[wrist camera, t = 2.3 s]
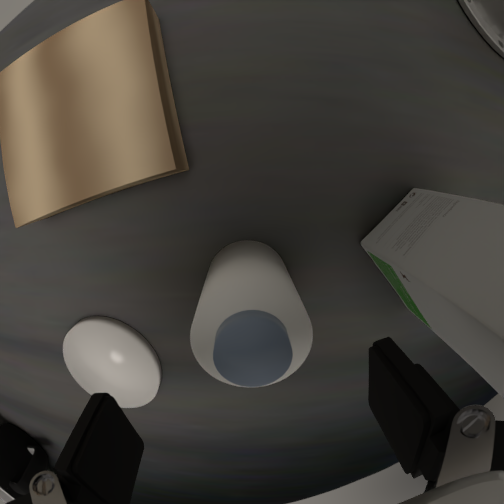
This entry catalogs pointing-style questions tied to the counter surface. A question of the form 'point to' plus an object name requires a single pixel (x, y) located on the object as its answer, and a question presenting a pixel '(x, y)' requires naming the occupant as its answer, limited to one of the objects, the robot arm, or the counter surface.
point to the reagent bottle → (250, 318)
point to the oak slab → (89, 113)
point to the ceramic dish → (112, 360)
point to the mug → (18, 462)
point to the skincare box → (449, 271)
